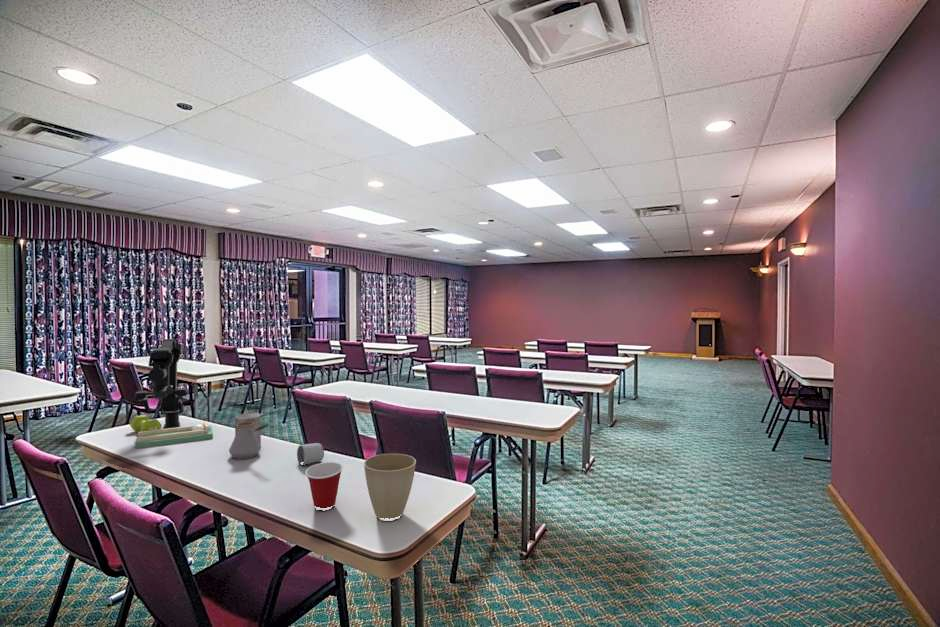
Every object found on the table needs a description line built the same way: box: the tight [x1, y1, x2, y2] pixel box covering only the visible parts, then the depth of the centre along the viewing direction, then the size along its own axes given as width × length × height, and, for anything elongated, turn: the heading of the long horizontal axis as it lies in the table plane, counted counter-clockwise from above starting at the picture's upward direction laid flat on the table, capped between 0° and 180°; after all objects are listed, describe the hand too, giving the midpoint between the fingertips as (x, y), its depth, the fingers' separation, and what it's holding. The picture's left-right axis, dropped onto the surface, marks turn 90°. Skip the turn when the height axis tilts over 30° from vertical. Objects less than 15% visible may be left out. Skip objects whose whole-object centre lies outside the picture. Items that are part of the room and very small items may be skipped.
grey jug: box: [234, 412, 262, 446], centre depth 191 cm, size 10×10×15 cm
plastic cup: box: [304, 461, 344, 508], centre depth 136 cm, size 11×11×12 cm
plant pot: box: [363, 453, 417, 519], centre depth 131 cm, size 15×15×16 cm
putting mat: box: [135, 420, 214, 449], centre depth 202 cm, size 16×28×5 cm, turn 122°
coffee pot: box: [228, 422, 270, 460], centre depth 178 cm, size 21×12×15 cm, turn 58°
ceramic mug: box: [296, 442, 325, 466], centre depth 175 cm, size 11×8×8 cm
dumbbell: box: [129, 414, 162, 433], centre depth 210 cm, size 16×8×7 cm, turn 54°
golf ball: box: [192, 424, 204, 431], centre depth 207 cm, size 5×5×5 cm
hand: (161, 413), depth 200 cm, fingers open, 9 cm apart
